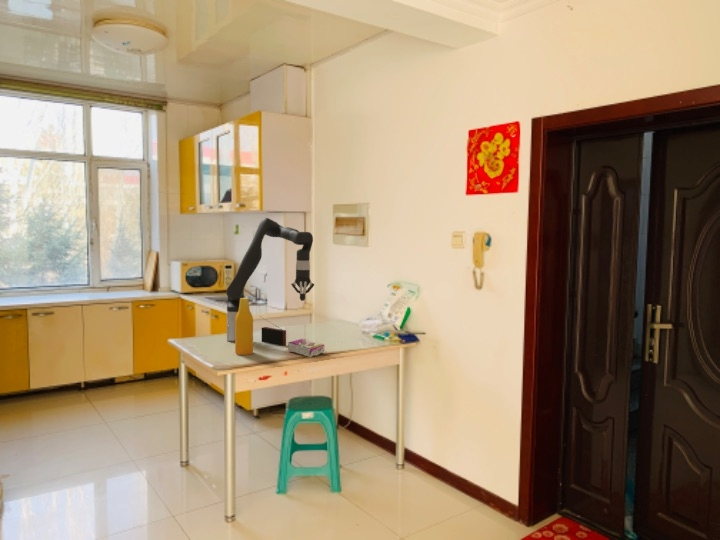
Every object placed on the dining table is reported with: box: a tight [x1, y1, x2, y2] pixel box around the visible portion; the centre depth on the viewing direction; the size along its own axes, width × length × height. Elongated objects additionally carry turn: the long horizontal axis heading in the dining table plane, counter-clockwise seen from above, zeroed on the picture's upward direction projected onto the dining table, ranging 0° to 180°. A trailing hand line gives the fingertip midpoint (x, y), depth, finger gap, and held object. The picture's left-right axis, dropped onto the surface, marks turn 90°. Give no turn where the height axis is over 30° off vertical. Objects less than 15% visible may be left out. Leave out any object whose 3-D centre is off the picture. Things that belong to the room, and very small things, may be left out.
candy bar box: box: [287, 338, 325, 358], centre depth 279 cm, size 11×5×16 cm
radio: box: [259, 315, 287, 347], centre depth 300 cm, size 19×3×15 cm, turn 56°
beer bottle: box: [234, 297, 254, 356], centre depth 274 cm, size 9×9×29 cm
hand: (302, 300), depth 285 cm, fingers closed
